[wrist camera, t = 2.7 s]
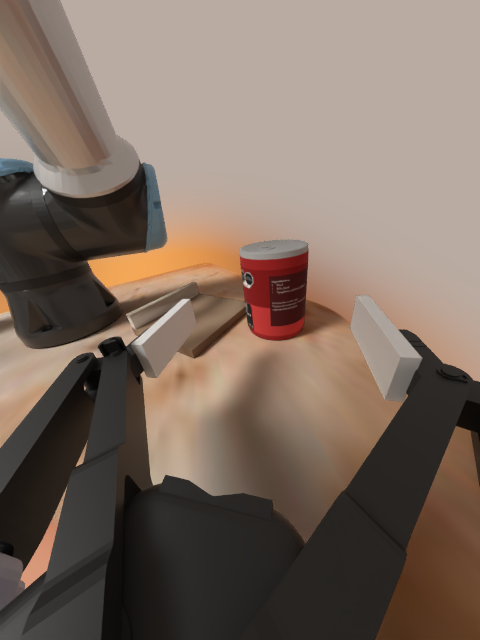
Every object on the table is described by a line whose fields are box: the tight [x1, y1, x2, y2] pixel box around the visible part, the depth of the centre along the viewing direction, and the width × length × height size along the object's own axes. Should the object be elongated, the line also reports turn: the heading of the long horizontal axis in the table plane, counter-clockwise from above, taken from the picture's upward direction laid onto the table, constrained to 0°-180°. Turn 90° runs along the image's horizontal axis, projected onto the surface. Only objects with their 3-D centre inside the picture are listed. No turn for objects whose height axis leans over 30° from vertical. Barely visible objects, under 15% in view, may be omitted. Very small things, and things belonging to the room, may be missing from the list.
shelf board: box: [126, 282, 246, 358], centre depth 31 cm, size 13×14×4 cm
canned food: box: [240, 240, 308, 340], centre depth 25 cm, size 8×8×11 cm
